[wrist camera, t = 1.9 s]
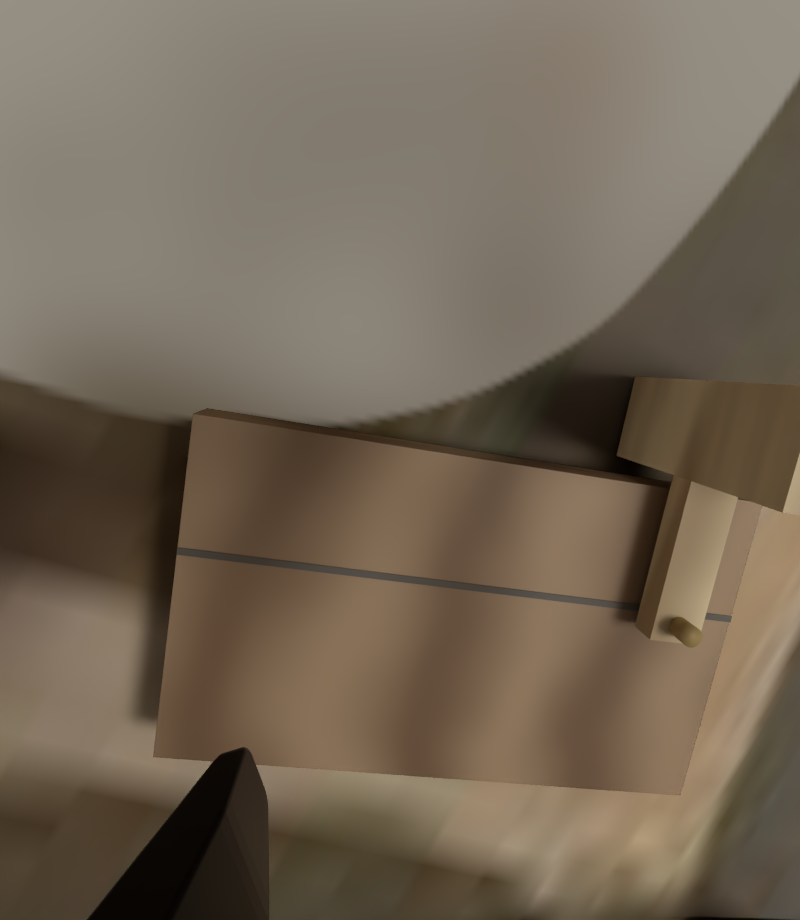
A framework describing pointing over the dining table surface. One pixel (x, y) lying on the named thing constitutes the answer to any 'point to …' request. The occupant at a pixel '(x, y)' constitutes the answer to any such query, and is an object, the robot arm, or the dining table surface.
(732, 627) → the dining table surface
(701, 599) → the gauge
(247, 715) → the board
